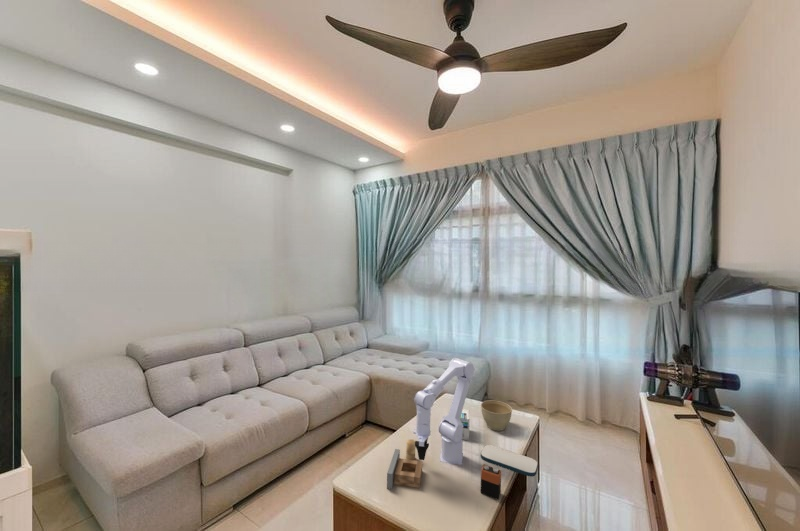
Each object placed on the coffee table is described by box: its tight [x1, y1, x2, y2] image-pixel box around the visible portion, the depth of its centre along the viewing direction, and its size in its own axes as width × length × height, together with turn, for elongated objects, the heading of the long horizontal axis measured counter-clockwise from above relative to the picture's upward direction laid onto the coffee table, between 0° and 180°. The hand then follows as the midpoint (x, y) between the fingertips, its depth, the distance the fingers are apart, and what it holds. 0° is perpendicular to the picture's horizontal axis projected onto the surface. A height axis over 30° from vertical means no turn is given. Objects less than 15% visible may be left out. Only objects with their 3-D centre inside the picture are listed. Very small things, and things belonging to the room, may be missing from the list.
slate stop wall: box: [386, 448, 401, 490], centre depth 128 cm, size 2×16×6 cm, turn 170°
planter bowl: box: [480, 400, 513, 432], centre depth 169 cm, size 16×16×11 cm
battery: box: [480, 464, 502, 500], centre depth 120 cm, size 4×7×10 cm, turn 61°
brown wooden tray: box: [393, 457, 424, 489], centre depth 126 cm, size 10×10×4 cm
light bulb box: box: [460, 408, 471, 441], centre depth 161 cm, size 11×7×11 cm, turn 168°
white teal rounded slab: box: [480, 444, 539, 478], centre depth 140 cm, size 24×12×2 cm, turn 59°
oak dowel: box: [405, 439, 416, 461], centre depth 138 cm, size 4×4×8 cm
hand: (422, 453), depth 130 cm, fingers open, 7 cm apart
